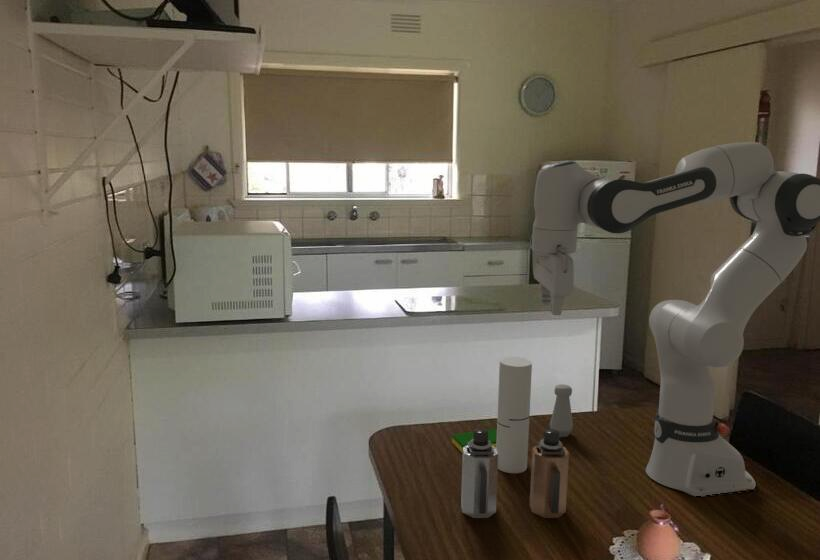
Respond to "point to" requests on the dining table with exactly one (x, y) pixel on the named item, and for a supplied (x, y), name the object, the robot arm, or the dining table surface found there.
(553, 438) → the copper press plunger
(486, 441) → the steel press plunger
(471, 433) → the dish sponge
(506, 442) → the cylindrical container
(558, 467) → the copper press carafe
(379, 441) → the dining table surface
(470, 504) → the steel press carafe
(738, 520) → the dining table surface
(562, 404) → the salt shaker
